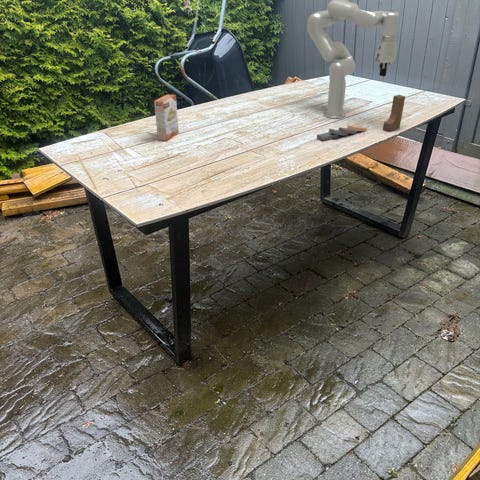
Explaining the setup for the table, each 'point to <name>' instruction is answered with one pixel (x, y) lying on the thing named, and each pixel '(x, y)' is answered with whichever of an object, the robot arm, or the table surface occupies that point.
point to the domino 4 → (356, 128)
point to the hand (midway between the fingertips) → (382, 75)
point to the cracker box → (166, 117)
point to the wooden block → (395, 114)
